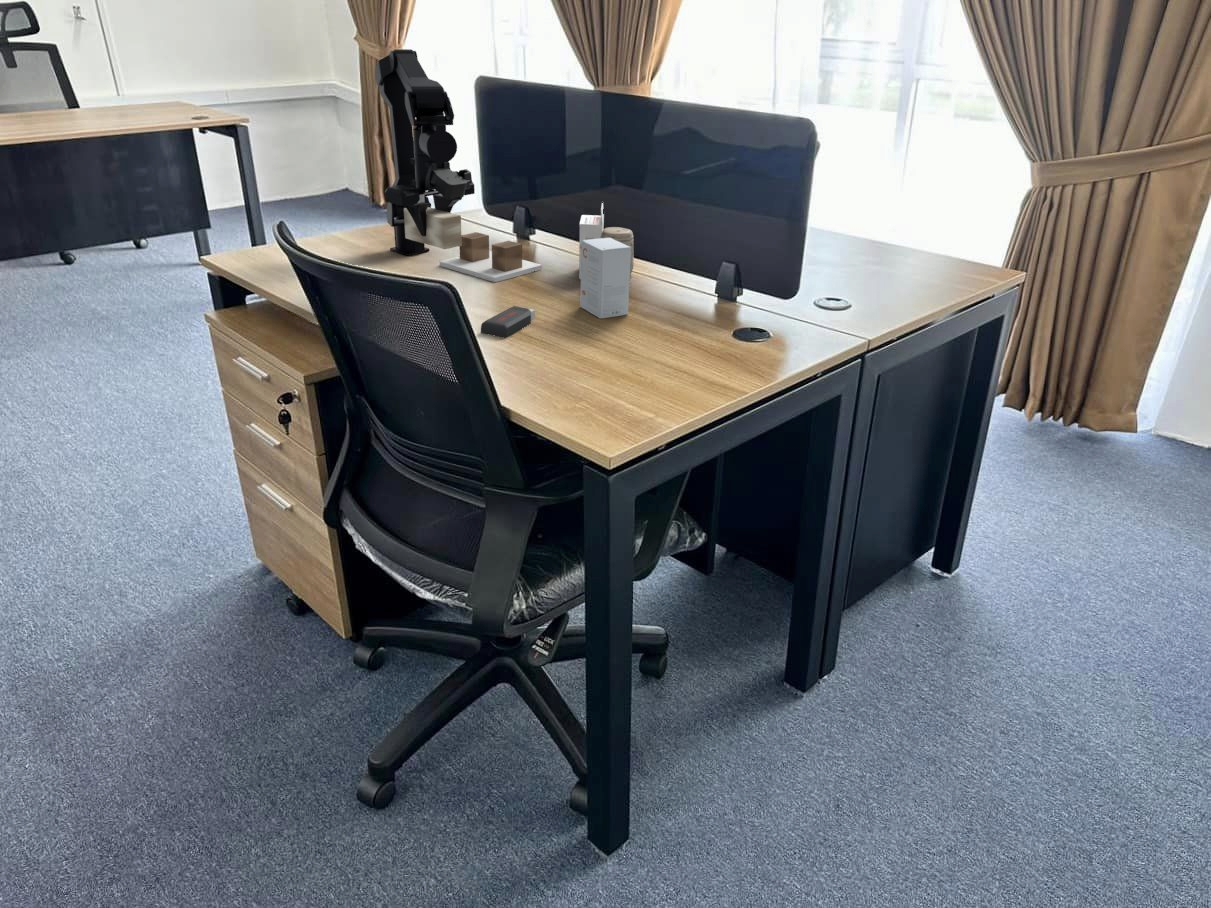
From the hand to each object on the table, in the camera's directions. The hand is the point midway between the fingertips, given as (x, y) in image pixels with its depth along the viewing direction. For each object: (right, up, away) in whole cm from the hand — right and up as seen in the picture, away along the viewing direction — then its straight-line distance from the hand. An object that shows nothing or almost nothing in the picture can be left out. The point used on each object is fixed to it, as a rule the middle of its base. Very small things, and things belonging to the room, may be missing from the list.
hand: (432, 234), depth 190 cm
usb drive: (+18, -22, -20) cm, 34 cm away
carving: (+37, -11, +3) cm, 38 cm away
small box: (+35, -17, -11) cm, 40 cm away
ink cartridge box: (+32, -6, +11) cm, 34 cm away
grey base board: (+10, -4, +13) cm, 17 cm away
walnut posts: (+10, -4, +13) cm, 17 cm away
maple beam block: (0, -1, +1) cm, 2 cm away
